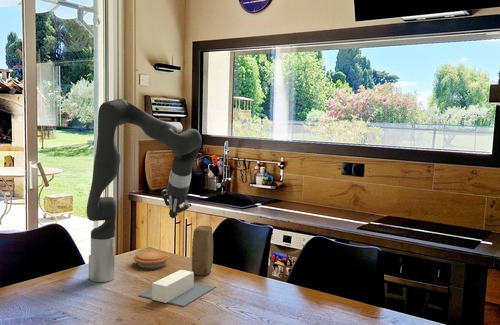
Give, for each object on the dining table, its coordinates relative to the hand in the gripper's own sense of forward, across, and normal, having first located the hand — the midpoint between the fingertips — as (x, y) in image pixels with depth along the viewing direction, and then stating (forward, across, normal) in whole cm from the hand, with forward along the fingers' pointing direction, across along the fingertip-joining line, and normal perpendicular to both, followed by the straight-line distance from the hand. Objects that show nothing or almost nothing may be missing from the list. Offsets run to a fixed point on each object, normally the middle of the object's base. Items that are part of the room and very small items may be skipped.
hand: (172, 216), depth 170 cm
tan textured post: (+35, -11, -14) cm, 39 cm away
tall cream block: (+18, -12, +18) cm, 28 cm away
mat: (+25, -14, +8) cm, 29 cm away
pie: (+44, +12, -9) cm, 46 cm away
